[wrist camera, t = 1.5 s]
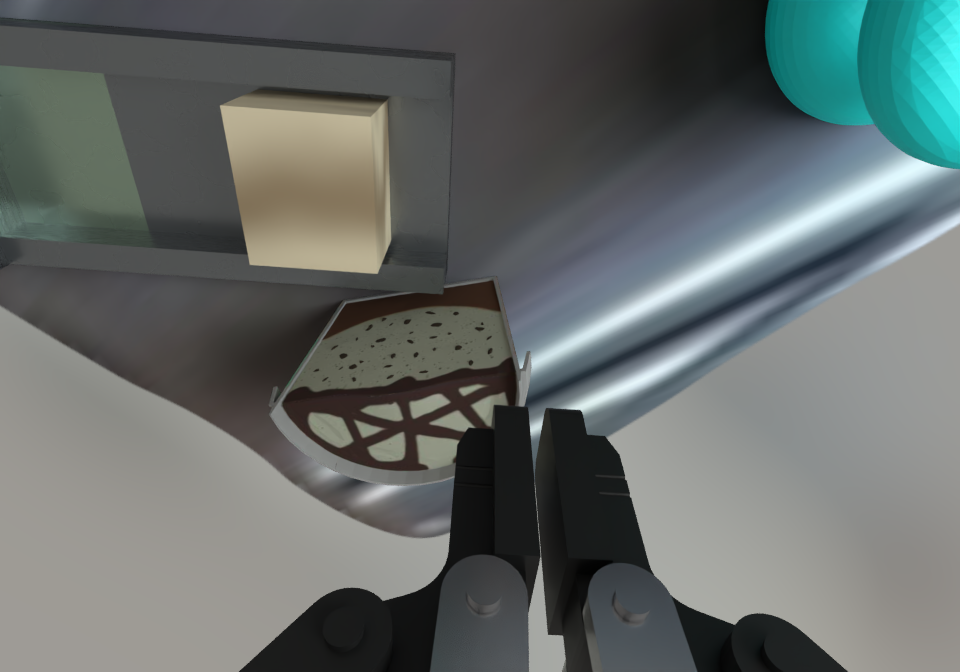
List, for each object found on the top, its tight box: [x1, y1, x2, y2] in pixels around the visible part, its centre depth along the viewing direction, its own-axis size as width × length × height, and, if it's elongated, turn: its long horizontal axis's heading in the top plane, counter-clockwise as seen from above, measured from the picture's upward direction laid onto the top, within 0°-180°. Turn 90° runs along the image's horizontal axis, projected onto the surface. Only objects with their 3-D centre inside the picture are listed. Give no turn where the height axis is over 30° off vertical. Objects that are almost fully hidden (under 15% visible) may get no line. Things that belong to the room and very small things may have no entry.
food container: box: [269, 276, 531, 486], centre depth 29 cm, size 12×6×10 cm, turn 101°
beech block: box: [220, 89, 391, 274], centre depth 25 cm, size 7×6×4 cm
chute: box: [0, 18, 455, 294], centre depth 26 cm, size 11×24×4 cm, turn 86°
